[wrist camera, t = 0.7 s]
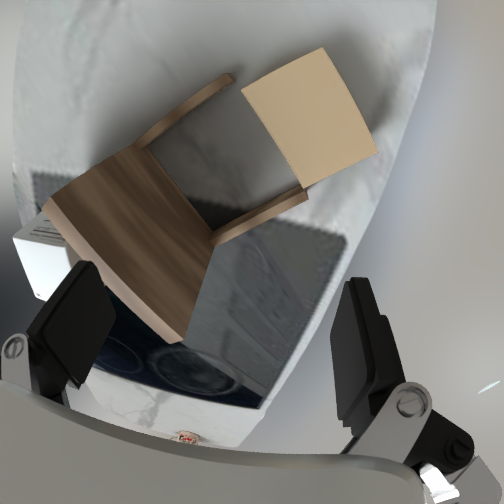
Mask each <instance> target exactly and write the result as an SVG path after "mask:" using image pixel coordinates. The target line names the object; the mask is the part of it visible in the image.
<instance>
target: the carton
mask: <svg viewBox="0 0 504 504" xmlns="http://www.w3.org/2000/svg"><path fill="white" fill-rule="evenodd" d="M241 92H242V93H243V94H244V96H245V97H246V99H247V100H248V102H249V103H250V105H251V106H252V108H253V109H254V110H255V112H256V113H257V115H258V116H259V118H260V119H261V121H262V123H263V124H264V126H265V127H266V129H267V130H268V132H269V133H270V135H271V136H272V138H273V140H274V141H275V143H276V144H277V146H278V147H279V149H280V151H281V152H282V154H283V155H284V157H285V159H286V160H287V162H288V164H289V165H290V167H291V169H292V170H293V172H294V174H295V175H296V177H297V179H298V180H299V182H300V184H301V186H302V187H303V189H304V188H306V187H308V186H310V185H312V184H314V183H316V182H318V181H320V180H322V179H324V178H326V177H328V176H330V175H332V174H334V173H336V172H338V171H340V170H342V169H344V168H346V167H348V166H350V165H353V164H355V163H357V162H359V161H361V160H363V159H365V158H367V157H369V156H371V155H373V154H376V153H378V149H377V147H376V145H375V143H374V140H373V138H372V136H371V134H370V132H369V130H368V127H367V125H366V123H365V121H364V119H363V117H362V115H361V113H360V111H359V109H358V107H357V105H356V103H355V102H354V100H353V98H352V96H351V94H350V92H349V90H348V89H347V87H346V85H345V83H344V82H343V80H342V78H341V76H340V75H339V73H338V71H337V70H336V68H335V66H334V65H333V63H332V61H331V60H330V58H329V57H328V55H327V53H326V52H325V50H324V49H323V47H322V48H319V49H317V50H315V51H313V52H311V53H309V54H306V55H304V56H302V57H300V58H298V59H296V60H294V61H292V62H290V63H288V64H286V65H284V66H282V67H281V68H279V69H277V70H275V71H273V72H271V73H269V74H268V75H266V76H264V77H262V78H260V79H259V80H257V81H255V82H253V83H252V84H250V85H248V86H247V87H245V88H243V89H242V90H241Z"/></svg>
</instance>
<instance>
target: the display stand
mask: <svg viewBox="0 0 504 504" xmlns="http://www.w3.org/2000/svg"><path fill="white" fill-rule="evenodd" d="M234 82H236V81H235V80H234V78H233V77H232V75H231V74H230V73H225V74H224V75H222V76H221V77H219V78H217V79H216V80H214V81H213V82H211V83H210V84H209V85H207V86H206V87H204V88H203V89H201V90H200V91H198V92H197V93H196V94H194V95H193V96H191V97H190V98H189V99H187V100H186V101H185V102H183V103H182V104H181V105H179V106H178V107H177V108H175V109H174V110H173V111H171V112H170V113H169V114H168V115H166V116H165V117H164V118H163V119H161V120H160V121H159V122H158V123H156V124H155V125H154V126H153V127H152V128H150V129H149V130H148V131H147V132H146V133H145V134H143V135H142V136H141V137H140V138H139V139H138V140H137V141H135V142H134V143H133V144H132V145H130V146H128V147H126V148H125V149H123V150H121V151H119V152H118V153H116V154H114V155H112V156H111V157H109V158H107V159H106V160H104V161H102V162H101V163H99V164H98V165H96V166H94V167H93V168H91V169H90V170H88V171H86V172H85V173H83V174H82V175H80V176H79V177H77V178H76V179H74V180H73V181H71V182H70V183H69V184H67V185H66V186H64V187H63V188H61V189H60V190H59V191H57V192H56V193H55V194H53V195H52V196H50V198H49V199H48V201H47V202H46V203H45V205H44V206H43V208H42V209H41V210H42V211H43V212H44V213H45V215H46V216H47V217H48V219H49V220H50V221H51V222H52V224H53V225H54V226H55V228H56V229H57V230H58V231H59V232H60V234H61V235H62V236H63V237H64V239H65V240H66V241H67V242H68V243H69V244H70V246H71V247H72V248H73V249H74V250H75V251H76V253H77V254H78V255H79V256H80V257H81V258H82V259H83V260H86V261H92V262H93V263H94V264H95V265H96V266H97V268H98V271H99V273H100V276H101V278H102V281H103V282H104V283H105V284H106V285H107V286H108V287H109V288H110V289H111V290H112V291H113V292H114V293H115V294H116V295H117V296H118V297H119V298H120V299H121V300H122V301H123V302H124V303H125V304H126V305H127V306H128V307H129V308H130V309H131V310H132V311H133V312H134V313H135V314H136V315H138V316H139V317H140V318H141V319H142V320H143V321H144V322H145V323H146V324H147V325H148V326H150V327H151V328H152V329H153V330H154V331H155V332H156V333H157V334H159V335H160V336H161V337H162V338H163V339H164V340H165V341H167V342H168V343H169V344H171V343H175V342H178V341H181V340H184V337H185V334H186V331H187V328H188V325H189V322H190V319H191V315H192V312H193V309H194V306H195V303H196V300H197V297H198V294H199V291H200V288H201V285H202V282H203V279H204V276H205V273H206V270H207V267H208V264H209V261H210V259H211V256H212V253H213V250H214V248H215V247H217V246H219V245H221V244H222V243H224V242H226V241H228V240H230V239H232V238H234V237H236V236H238V235H240V234H242V233H243V232H245V231H247V230H249V229H251V228H253V227H255V226H257V225H259V224H261V223H263V222H265V221H267V220H269V219H271V218H273V217H275V216H277V215H278V214H280V213H282V212H284V211H286V210H288V209H290V208H292V207H294V206H296V205H298V204H300V203H302V202H304V201H306V200H308V194H307V191H306V189H305V188H304V189H303V187H302V186H301V185H299V186H297V187H295V188H293V189H291V190H289V191H287V192H285V193H283V194H281V195H279V196H278V197H276V198H274V199H272V200H270V201H268V202H266V203H264V204H262V205H261V206H259V207H257V208H255V209H253V210H251V211H249V212H248V213H246V214H244V215H242V216H240V217H238V218H237V219H235V220H233V221H231V222H229V223H227V224H226V225H224V226H222V227H220V228H218V229H217V230H215V231H212V230H211V229H210V228H209V226H208V225H207V224H206V223H205V221H204V220H203V219H202V217H201V216H200V215H199V214H198V212H197V211H196V210H195V208H194V207H193V206H192V205H191V203H190V202H189V201H188V199H187V198H186V197H185V196H184V194H183V193H182V192H181V190H180V189H179V188H178V187H177V185H176V184H175V183H174V181H173V180H172V179H171V177H170V176H169V175H168V174H167V172H166V171H165V170H164V168H163V167H162V166H161V164H160V163H159V162H158V160H157V159H156V158H155V157H154V155H153V154H152V153H151V151H150V150H149V149H148V147H147V145H149V144H150V143H151V142H152V141H153V140H155V139H156V138H157V137H158V136H160V135H161V134H162V133H163V132H165V131H166V130H167V129H168V128H170V127H171V126H172V125H173V124H175V123H176V122H177V121H179V120H180V119H181V118H183V117H184V116H185V115H187V114H188V113H190V112H191V111H192V110H194V109H195V108H196V107H198V106H199V105H201V104H202V103H204V102H205V101H206V100H208V99H209V98H211V97H212V96H214V95H215V94H217V93H218V92H220V91H221V90H223V89H225V88H226V87H228V86H229V85H231V84H232V83H234Z"/></svg>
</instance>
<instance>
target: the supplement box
mask: <svg viewBox="0 0 504 504" xmlns="http://www.w3.org/2000/svg"><path fill="white" fill-rule="evenodd" d="M13 241H14V244H15V246H16V249H17V251H18V254H19V257H20V259H21V262H22V264H23V267H24V269H25V272H26V274H27V277H28V279H29V281H30V284H31V287H32V289H33V291H34V294H35V296H36V297H37V298H39V299H42V300H45V301H47V300H48V299H49V298H50V296H51V295H52V294H53V292H54V291H55V290H56V288H57V287H58V286H59V284H60V283H61V282H62V280H63V279H64V278H65V277H66V275H67V274H68V273H69V272H70V270H71V269H72V268H73V267H74V265H75V264H76V263H77V262H78V261H79V260H83V259H82V258H81V257H80V256H79V255H78V254H77V253H76V251H75V250H74V249H73V248H72V247H71V246H70V244H69V243H68V242H67V241H66V240H65V239H64V237H63V236H62V235H61V234H60V232H59V231H58V230H57V229H56V228H55V226H54V225H53V224H52V222H51V221H50V220H49V219H48V217H47V216H46V215H45V213H44V212H43V211H42V212H41V213H39V214H38V215H37V216H36V217H35V218H33V219H32V220H31V221H30V222H29V223H27V224H26V225H25V226H24V227H23V228H22V229H20V230H19V231H18V232H17V233H16V234H15V235H14V236H13ZM103 284H104V286H105V285H106V284H105V283H104V282H103Z"/></svg>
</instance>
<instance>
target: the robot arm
mask: <svg viewBox="0 0 504 504" xmlns="http://www.w3.org/2000/svg"><path fill="white" fill-rule="evenodd" d="M115 318H116V313H115V310H114V308H113V306H112V303H111V301H110V298H109V296H108V294H107V291H106V289H105V286H104V284H103V281H102V278H101V276H100V273H99V271H98V268H97V266H96V265H95V264H94V263H93V262H92V261H86V260H79V261H78V262H77V263H76V264H75V265H74V267H73V268H72V269H71V270H70V272H69V273H68V274H67V275H66V277H65V278H64V279H63V280H62V282H61V283H60V284H59V286H58V287H57V288H56V290H55V291H54V292H53V294H52V295H51V296H50V298H49V299H48V300H47V302H46V303H45V304H44V306H43V307H42V309H41V310H40V312H39V313H38V314H37V316H36V317H35V319H34V320H33V322H32V323H31V325H30V326H29V328H28V329H27V331H26V332H27V334H28V335H29V338H28V339H27V338H26V337H25V336H24V335H23V334H15V335H13V336H11V337H10V338H9V339H8V340H7V341H6V342H5V344H4V345H3V348H2V353H1V356H0V504H427V502H426V497H425V492H424V488H423V485H422V484H426V485H427V486H428V487H429V489H430V490H431V492H430V494H431V496H432V497H433V499H434V501H435V504H499V502H500V500H501V496H502V489H501V486H500V484H499V483H498V481H497V480H496V478H495V477H494V476H493V474H492V473H491V472H490V470H489V469H488V467H487V466H486V465H485V463H484V462H483V461H482V459H481V458H480V456H477V457H475V455H474V442H473V439H472V438H471V436H470V435H469V434H468V433H467V432H465V431H464V430H462V429H461V428H459V427H458V426H456V425H455V424H454V423H452V422H451V421H449V420H448V419H446V418H445V417H443V416H442V415H440V414H439V413H437V412H436V411H434V410H433V409H432V399H431V396H430V394H429V392H428V391H427V389H426V388H424V387H423V386H422V385H420V384H418V383H415V382H406V380H405V376H404V372H403V369H402V364H401V361H400V357H399V353H398V350H397V347H396V343H395V340H394V336H393V333H392V330H391V327H390V323H389V320H388V318H387V316H386V315H380V313H379V309H378V307H377V303H376V300H375V297H374V294H373V291H372V288H371V285H370V282H369V280H368V278H362V277H352V278H351V279H350V281H346V282H345V284H344V288H343V291H342V295H341V299H340V302H339V306H338V309H337V312H336V316H335V319H334V323H333V326H332V329H331V333H330V343H331V351H332V359H333V369H334V380H335V390H336V403H337V416H338V419H339V420H343V427H351V433H352V435H353V436H354V437H353V438H352V439H351V441H350V442H349V443H348V444H347V445H346V447H345V448H344V449H343V450H342V452H341V453H340V454H274V453H259V452H245V451H235V450H226V449H219V448H211V447H205V446H198V445H193V444H188V443H182V442H177V441H173V440H168V439H163V438H159V437H155V436H151V435H147V434H144V433H140V432H136V431H133V430H129V429H126V428H123V427H119V426H116V425H113V424H110V423H107V422H104V421H101V420H98V419H96V418H93V417H90V416H87V415H85V414H82V413H79V412H77V411H75V410H72V409H70V405H69V401H68V397H67V393H66V389H65V386H66V384H68V385H69V386H70V387H72V388H75V389H78V390H79V388H80V386H81V384H83V383H84V382H85V380H86V378H87V376H88V374H89V372H90V370H91V367H92V365H93V363H94V361H95V359H96V357H97V355H98V353H99V351H100V349H101V347H102V345H103V343H104V341H105V339H106V337H107V335H108V333H109V331H110V329H111V327H112V325H113V323H114V321H115Z"/></svg>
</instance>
